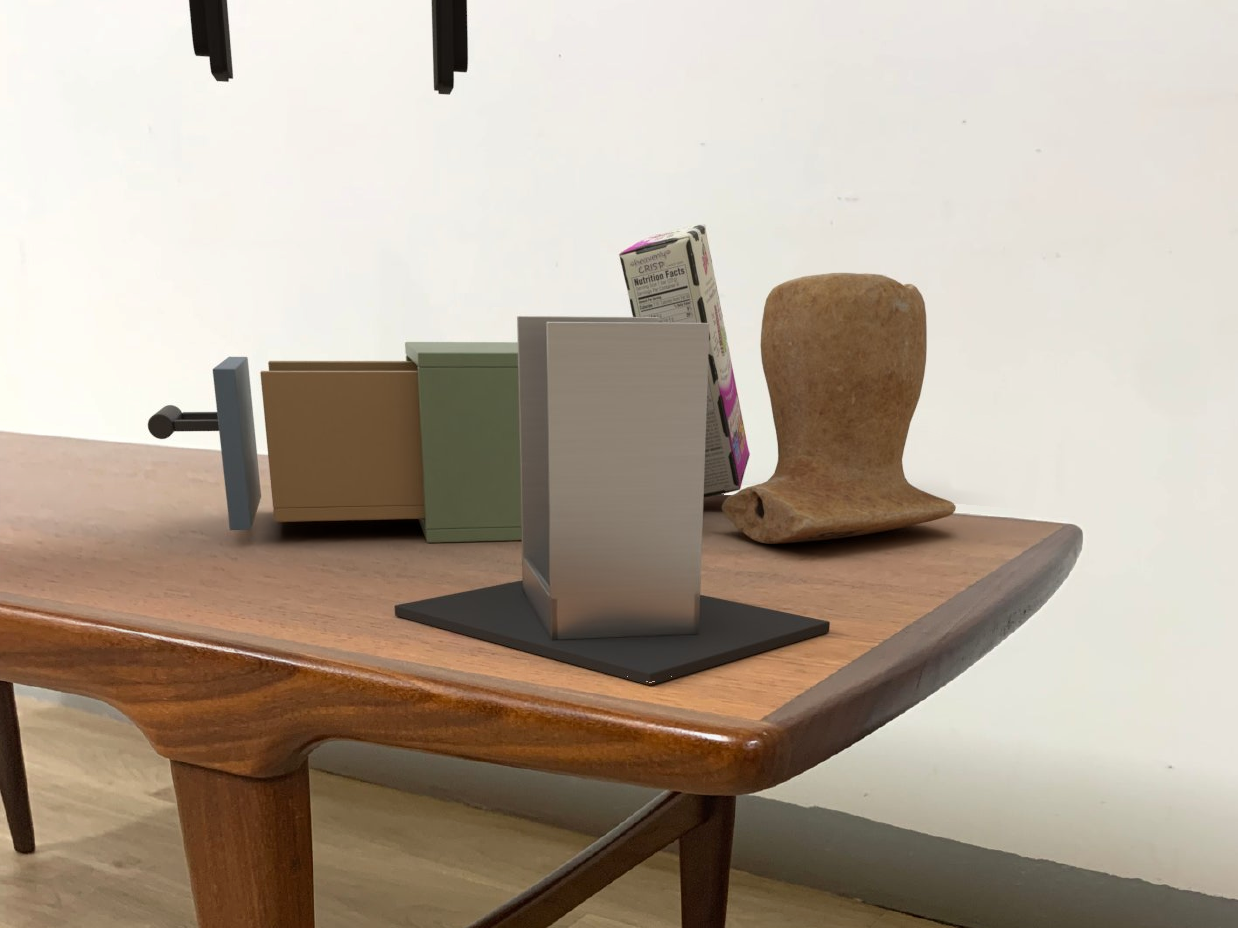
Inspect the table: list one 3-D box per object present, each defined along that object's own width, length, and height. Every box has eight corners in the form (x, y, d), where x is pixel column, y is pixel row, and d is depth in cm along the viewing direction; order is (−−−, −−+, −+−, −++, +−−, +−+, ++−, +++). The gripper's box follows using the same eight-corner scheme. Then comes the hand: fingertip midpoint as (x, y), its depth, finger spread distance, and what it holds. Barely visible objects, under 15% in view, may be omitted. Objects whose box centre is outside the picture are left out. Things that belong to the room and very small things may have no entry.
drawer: (153, 532, 74) (131, 368, 70) (176, 499, 85) (158, 356, 82) (481, 524, 78) (475, 368, 74) (462, 493, 89) (456, 357, 85)
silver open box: (551, 640, 54) (547, 322, 49) (522, 593, 62) (516, 316, 57) (699, 634, 55) (709, 323, 51) (652, 589, 64) (657, 317, 59)
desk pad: (394, 615, 60) (393, 605, 60) (577, 578, 68) (577, 569, 68) (650, 686, 50) (650, 673, 50) (829, 632, 58) (830, 621, 58)
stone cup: (842, 510, 90) (860, 274, 84) (978, 535, 81) (1008, 275, 75) (671, 530, 82) (677, 271, 76) (802, 561, 73) (820, 270, 67)
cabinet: (427, 543, 77) (417, 352, 73) (413, 506, 89) (404, 341, 85) (682, 536, 80) (687, 353, 76) (635, 502, 92) (637, 342, 88)
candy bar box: (686, 471, 98) (639, 239, 91) (751, 457, 97) (708, 221, 90) (669, 506, 89) (615, 249, 81) (741, 492, 87) (692, 230, 80)
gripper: (53, -501, 46) (115, 59, 52) (540, -435, 49) (539, 85, 56) (91, -402, 52) (142, 84, 59) (517, -349, 56) (519, 105, 62)
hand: (334, 84), depth 57 cm, fingers open, 9 cm apart
